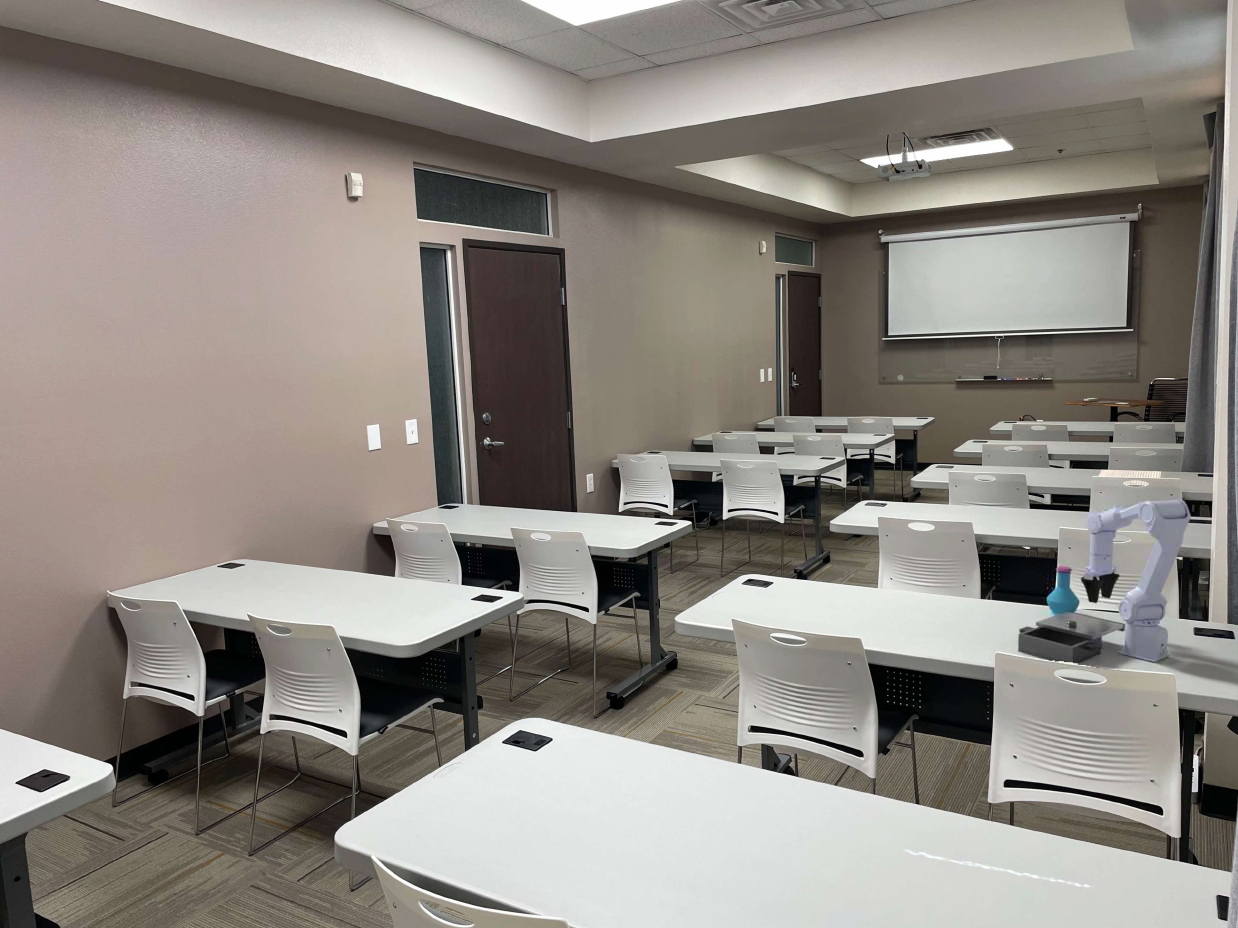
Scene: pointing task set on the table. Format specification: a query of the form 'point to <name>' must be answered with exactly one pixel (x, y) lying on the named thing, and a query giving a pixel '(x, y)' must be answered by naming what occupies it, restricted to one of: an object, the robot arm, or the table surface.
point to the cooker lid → (1081, 625)
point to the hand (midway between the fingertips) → (1099, 599)
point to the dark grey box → (1057, 645)
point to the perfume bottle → (1062, 594)
